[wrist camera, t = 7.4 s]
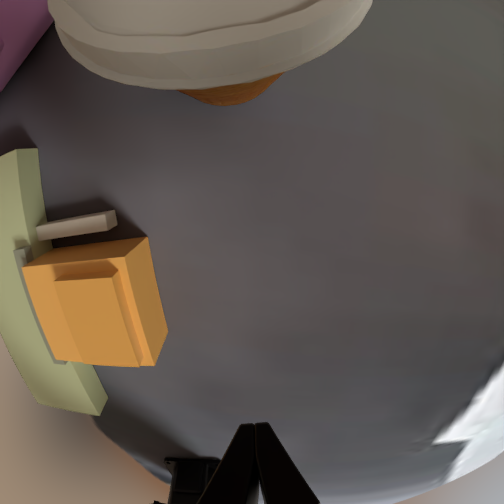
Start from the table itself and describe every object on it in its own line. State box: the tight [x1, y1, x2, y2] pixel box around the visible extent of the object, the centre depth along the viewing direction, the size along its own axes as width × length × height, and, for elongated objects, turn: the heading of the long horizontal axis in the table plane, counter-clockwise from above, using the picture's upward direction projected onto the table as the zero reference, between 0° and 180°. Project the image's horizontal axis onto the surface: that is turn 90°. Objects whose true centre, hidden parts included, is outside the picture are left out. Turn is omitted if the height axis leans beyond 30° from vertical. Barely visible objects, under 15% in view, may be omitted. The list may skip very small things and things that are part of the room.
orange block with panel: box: [21, 237, 168, 367], centre depth 16 cm, size 7×8×5 cm
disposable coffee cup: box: [47, 0, 373, 106], centre depth 9 cm, size 10×10×12 cm
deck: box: [0, 148, 117, 416], centre depth 17 cm, size 22×14×3 cm, turn 5°
